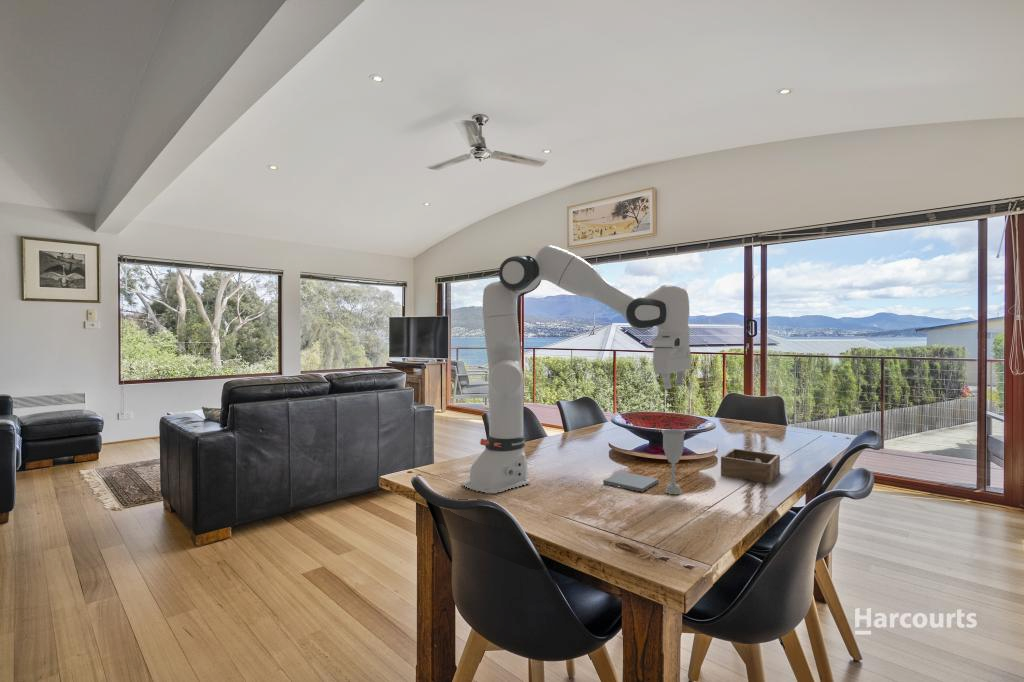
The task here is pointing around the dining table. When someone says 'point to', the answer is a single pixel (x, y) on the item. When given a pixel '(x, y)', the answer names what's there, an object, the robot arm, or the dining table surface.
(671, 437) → the chalice
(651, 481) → the slate board
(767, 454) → the walnut display box
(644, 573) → the dining table surface
